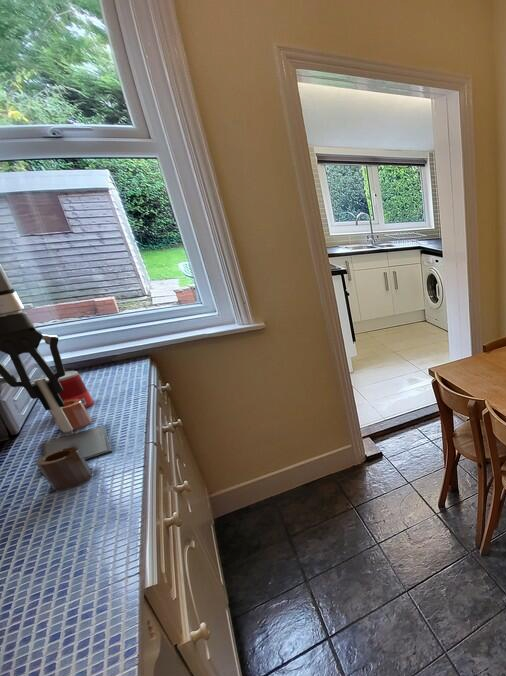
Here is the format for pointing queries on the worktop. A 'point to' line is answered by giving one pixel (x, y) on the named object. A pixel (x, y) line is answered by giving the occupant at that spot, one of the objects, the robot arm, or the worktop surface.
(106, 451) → the tablet
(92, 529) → the worktop surface
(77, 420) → the pen holder
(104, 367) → the worktop surface
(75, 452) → the stand
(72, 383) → the canned food
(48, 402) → the cream long square bar
